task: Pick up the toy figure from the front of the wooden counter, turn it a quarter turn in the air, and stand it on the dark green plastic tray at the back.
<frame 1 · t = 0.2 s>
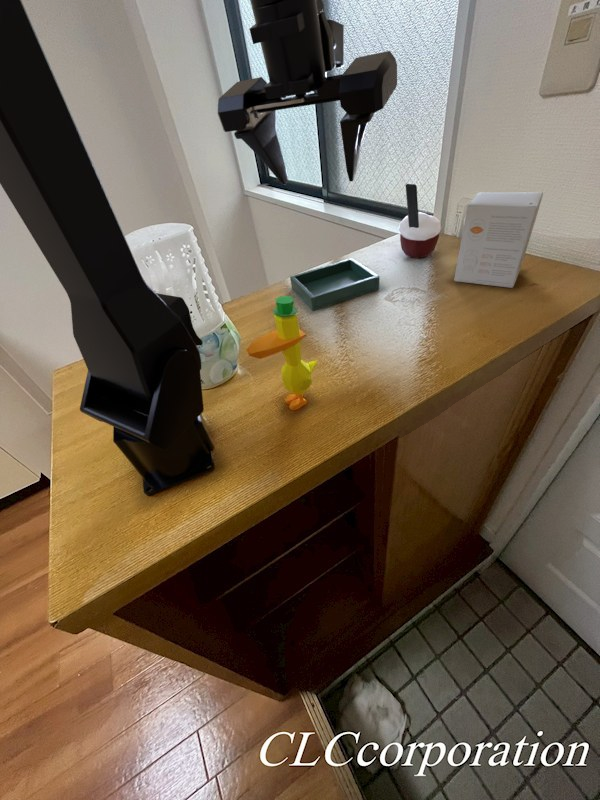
hand: (317, 181, 43), 15 cm above the cabinet, tool pointing down, fingers open, 9 cm apart
tray: (333, 288, 54), on the cabinet
small box: (485, 278, 51), on the cabinet
red dessert cup: (415, 256, 59), on the cabinet
toy figure: (295, 404, 37), on the cabinet
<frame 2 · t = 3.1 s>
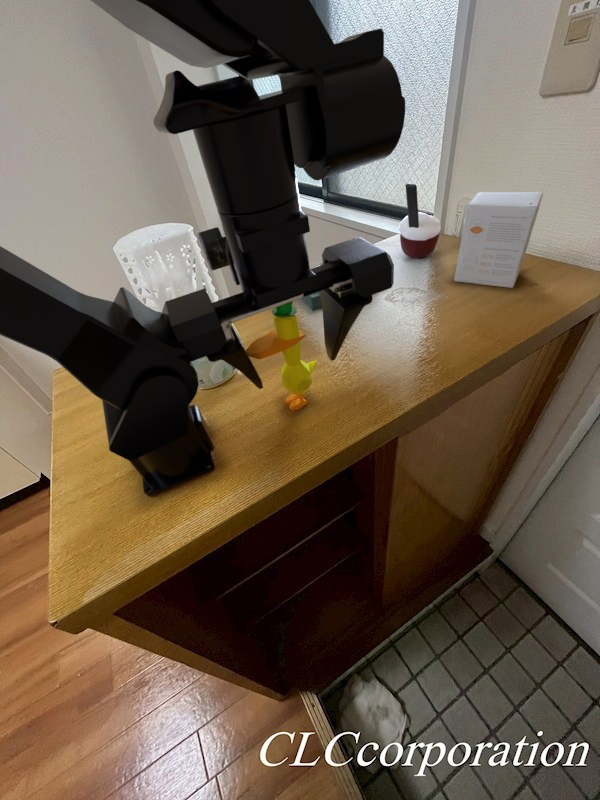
hand: (296, 371, 34), 4 cm above the cabinet, tool pointing down, fingers closed on toy figure, 7 cm apart
toy figure: (295, 404, 37), on the cabinet, touching gripper
everything else where it was.
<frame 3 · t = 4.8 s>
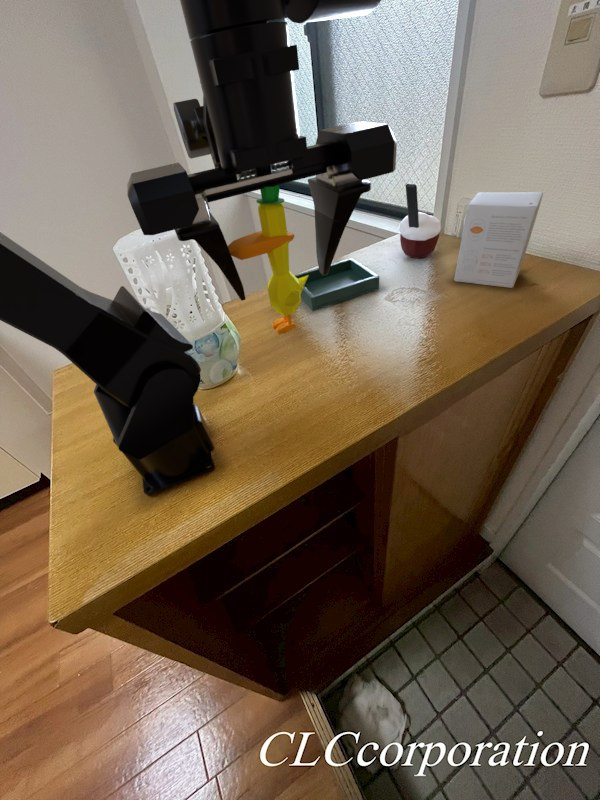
hand: (284, 285, 31), 12 cm above the cabinet, tool pointing down, fingers closed on toy figure, 7 cm apart
toy figure: (283, 329, 33), point 8 cm above the cabinet, touching gripper
everything else where it was.
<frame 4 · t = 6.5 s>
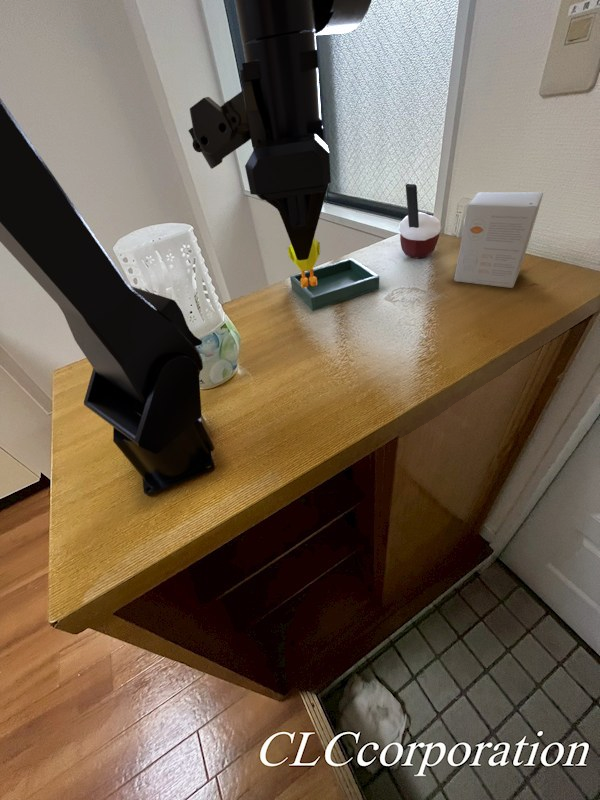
hand: (303, 245, 37), 12 cm above the cabinet, tool pointing down, fingers closed on toy figure, 7 cm apart
toy figure: (308, 285, 39), point 8 cm above the cabinet, touching gripper
everything else where it was.
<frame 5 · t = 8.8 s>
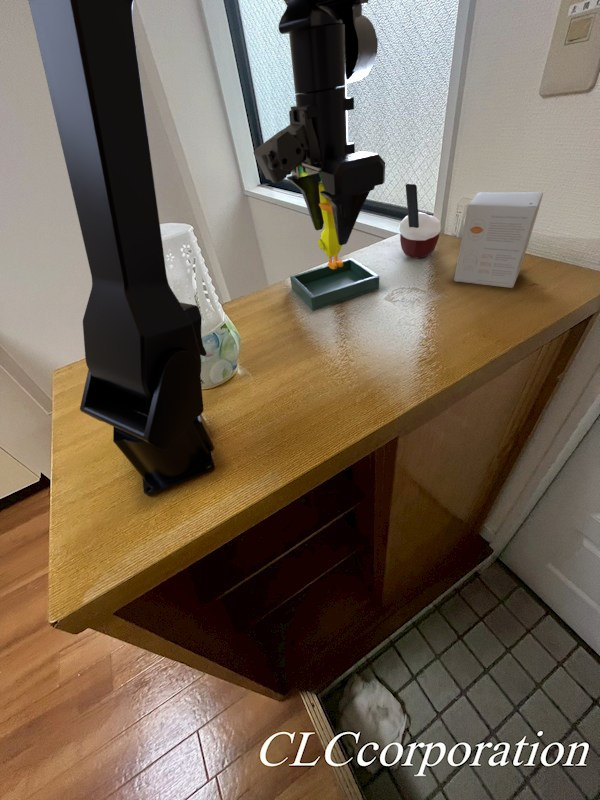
hand: (330, 236, 49), 8 cm above the cabinet, tool pointing down, fingers closed on toy figure, 7 cm apart
toy figure: (335, 267, 51), point 4 cm above the cabinet, touching gripper
everything else where it was.
when the fingers open (5 cm above the cabinet, at t = 10.3 s): toy figure stays where it is, resting on tray.
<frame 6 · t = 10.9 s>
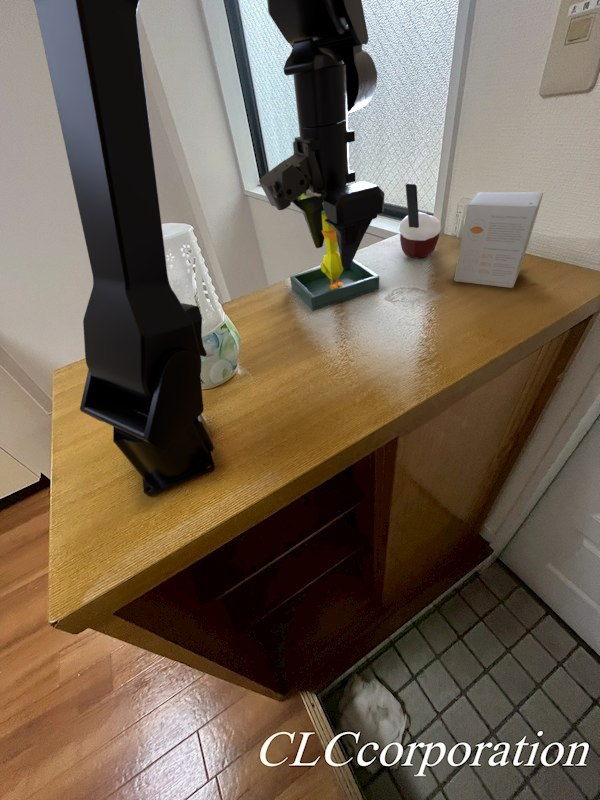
hand: (331, 256, 51), 5 cm above the cabinet, tool pointing down, fingers open, 9 cm apart
toy figure: (337, 289, 53), resting on tray
everything else where it was.
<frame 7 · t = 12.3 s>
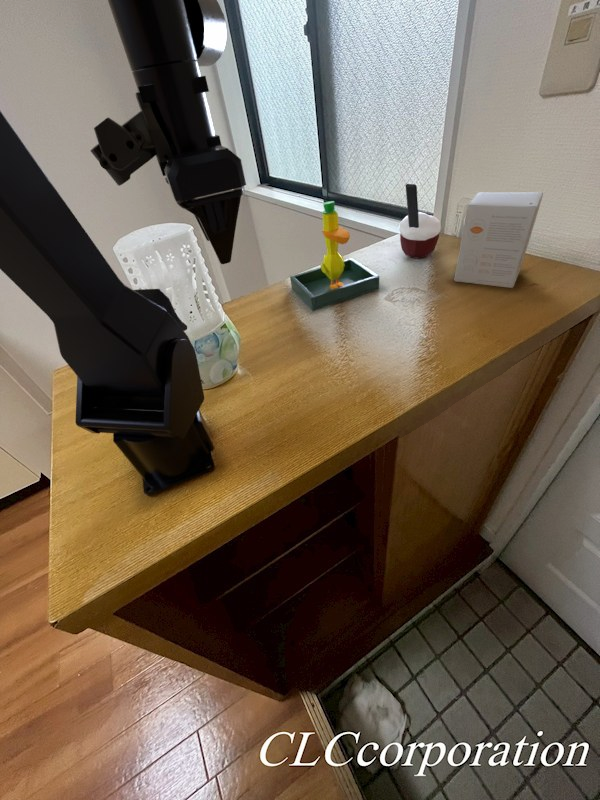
hand: (217, 250, 40), 12 cm above the cabinet, tool pointing down, fingers open, 9 cm apart
nothing on the cabinet moved.
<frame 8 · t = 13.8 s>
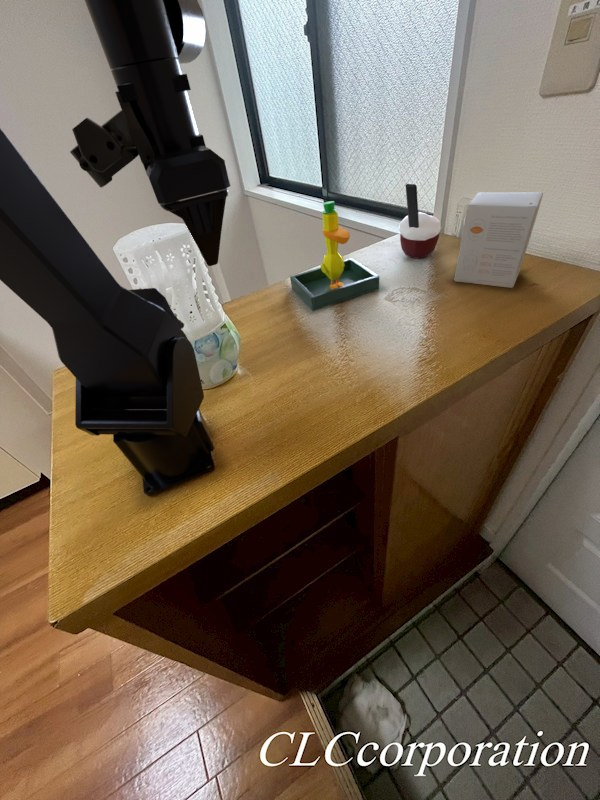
hand: (205, 251, 40), 12 cm above the cabinet, tool pointing down, fingers open, 9 cm apart
nothing on the cabinet moved.
at the end: toy figure 1.1 cm off-centre in the tray, point 0.3 cm above the tray's base; toy figure tilted 0°; the gripper is holding nothing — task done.
